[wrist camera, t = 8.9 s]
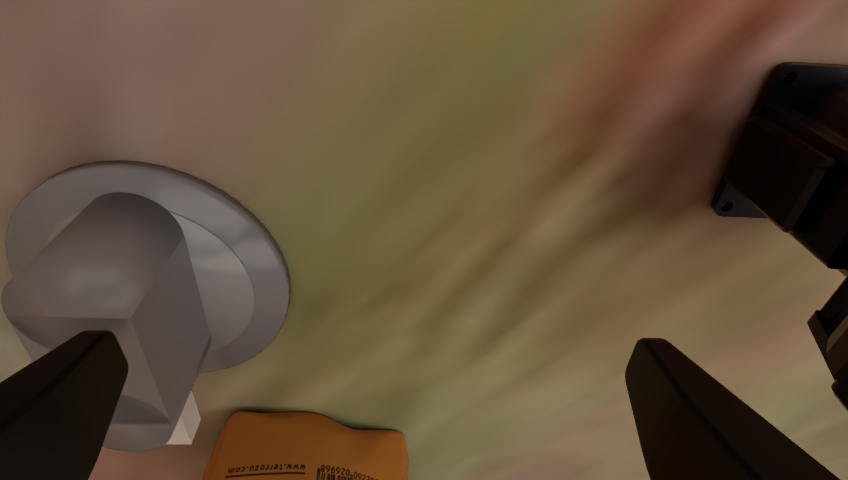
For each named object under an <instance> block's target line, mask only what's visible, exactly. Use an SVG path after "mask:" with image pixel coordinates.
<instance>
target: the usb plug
mask: <svg viewBox="0 0 848 480" xmlns="http://www.w3.org/2000/svg"><path fill="white" fill-rule="evenodd" d="M1 300H2V306H3V309H4V312H5V314H6V316H7V318H8V319H9V321H10V323H11V324H12V326H13V328H14V329H15V331H16V333H17V335H18V336H19V338H20V340H21V341H22V343H23V345H24V347H25V348H26V350H27V352H28V353H29V355H30V357H31V358H32V360H33V362H34V361H35V360H37V359H39V358H40V357H42V356H43V355H45V354H47V353H48V352H50V351H51V350H53V349H54V348H56V347H58V346H59V345H61V344H62V343H64V342H66V341H67V340H69V339H70V338H72V337H73V336H75V335H77V334H78V333H80V332H82V331H85V330H109V331H111V332H113V333H114V334H115V336H116V338H117V340H118V342H119V344H120V346H121V348H122V350H123V353H124V355H125V357H126V359H127V361H128V375H127V379H126V382H125V384H124V387H123V390H122V393H121V395H120V398H119V401H118V404H117V407H116V409H115V412H114V415H113V418H112V421H111V423H110V426H109V429H108V432H107V434H106V437H105V440H104V443H103V447H106V448H110V449H114V450H119V451H127V452H142V451H149V450H153V449H157V448H159V447H161V446H163V445H164V444H192V442H193V439H194V437H195V434H196V431H197V429H198V426H199V424H200V421H201V418H200V414H199V411H198V408H197V405H196V402H195V399H194V396H193V393H192V387H193V385H194V383H195V381H196V378H197V376H198V374H199V371H200V369H201V367H202V364H203V362H204V360H205V357H206V355H207V353H208V350H209V348H210V346H211V334H210V330H209V327H208V323H207V319H206V315H205V312H204V308H203V304H202V300H201V296H200V293H199V289H198V285H197V281H196V278H195V274H194V270H193V266H192V263H191V259H190V255H189V251H188V247H187V244H186V240H185V236H184V233H183V230H182V228H181V226H180V224H179V223H178V222H177V220H176V219H175V218H174V217H173V215H172V214H171V213H170V212H169V211H168V210H166V209H165V208H164V207H162V206H161V205H159V204H158V203H156V202H154V201H152V200H150V199H148V198H146V197H143V196H140V195H137V194H132V193H125V192H114V193H107V194H104V195H101V196H99V197H97V198H95V199H94V200H93V201H92V202H91V203H90V204H88V205H87V206H86V207H85V208H84V209H83V210H82V211H81V212H80V213H79V214H78V215H77V216H76V217H75V218H74V219H73V220H72V221H71V222H70V223H69V224H68V225H67V226H66V227H65V228H64V229H63V230H62V231H61V232H60V233H59V234H58V235H57V236H56V237H55V238H54V239H53V240H52V241H51V242H50V243H49V244H48V245H46V246H45V247H44V248H43V249H42V250H41V251H40V252H39V253H38V254H37V255H36V256H35V257H34V258H33V259H32V260H31V261H30V262H29V263H28V264H27V265H26V266H25V267H24V268H23V269H22V270H21V271H20V272H19V273H18V274H17V275H16V276H15V277H14V278H13V279H12V280H11V281H10V282H9V283H8V284H7V285H6V286H5V288H4V290H3V292H2V298H1Z"/></svg>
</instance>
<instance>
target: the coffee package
mask: <svg viewBox="0 0 848 480" xmlns="http://www.w3.org/2000/svg"><path fill="white" fill-rule="evenodd" d="M407 471H408V455H407V449H406V445H405V440H404V436H403V434H402V433H400V432H398V431H393V430H357V429H352V428H349V427H346V426H344V425H342V424H340V423H338V422H336V421H334V420H332V419H330V418H328V417H326V416H323V415H320V414H316V413H310V412H282V413H255V412H246V411H239V412H236V413H234V414H233V415H231V416H230V418H229V419H228V420H227V422H226V424H225V426H224V428H223V430H222V432H221V434H220V437H219V439H218V441H217V443H216V445H215V447H214V450H213V452H212V455H211V458H210V461H209V463H208V465H207V468H206V470H205V473H204V476H203V479H202V480H408V476H407Z"/></svg>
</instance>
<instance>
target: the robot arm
mask: <svg viewBox="0 0 848 480" xmlns="http://www.w3.org/2000/svg"><path fill="white" fill-rule="evenodd" d="M789 72H790V75H789V77H788V78H787V79H786V80H785V81H783V82H782V80H783V78H784V76H785V75H786V74H788V73H789ZM726 202H728V203H727V204H726V205H725V206H723V207H721V206H722V205H723V204H724V203H726ZM710 206H711V209H712V210H713V211H714V212H715V213H716V214H717V215H719V216H723V217H751V218H768V219H770V220H771V221H772V222H773V223H774V224H775V225H776V226H777V227H779V228H780V229H781V230H782V231H784V232H786V233H789V234H790V235H791V236H793V237H794V238H795V239H796V240H797V241H798V242H799V243H801V244H802V245H803V246H804V247H805V248H806V249H807V250H809V251H810V252H811V253H812V254H813V255H814V256H815V257H817V258H818V259H819V260H820V261H821V262H822V263H823V264H824V265H826V266H827V267H828V268H831V269H837V270H839V271H840V272H841V273H842V274H843V275H844V276H846V278H845V279H844V281H843V282H842V283H841V285H840V286H839V287H838V288H837V290H836V291H835V292H834V293H833V295H832V296H831V297H830V299H829V300H828V301H827V302H826V304H825V305H824V306H823V307H822V309H821V310H816V311H815V313H814V314H813V315H812V316H811V318H810V319H809V320H808V322H807V324H808V326H809V328H810V330H811V332H812V334H813V336H814V338H815V341H816V343H817V345H818V347H819V349H820V351H821V353H822V355H823V357H824V359H825V361H826V363H827V365H828V368H829V370H830V372H831V374H832V376H833V378H834V380H835V382H834V383H833V384H832V386H831V388H832V390H833V392H834V394H835V396H836V397H837V399H838V400H839V401H840V402H841V404H842V405H843V406H844V407H845V409H846V410H847V411H848V65H838V64H820V63H802V62H784V63H782V64H780V65H778V66H777V67H776V68H775V69H774V70H773V71H772V73H771V74H770V76H769V78H768V80H767V82H766V85H765V87H764V89H763V91H762V93H761V95H760V98H759V100H758V102H757V104H756V106H755V108H754V111H753V113H752V115H751V117H750V119H749V121H748V123H747V125H746V127H745V129H744V131H743V134H742V136H741V138H740V140H739V142H738V144H737V147H736V149H735V151H734V153H733V155H732V157H731V160H730V162H729V164H728V166H727V168H726V170H725V173H724V175H723V177H722V180H721V182H720V184H719V186H718V188H717V190H716V193H715V195H714V197H713V199H712V201H711V205H710ZM127 375H128V361H127V359H126V357H125V355H124V353H123V350H122V348H121V346H120V344H119V342H118V340H117V338H116V336H115V334H114V333H113V332H111V331H109V330H85V331H82V332H80V333H78V334H77V335H75V336H73V337H72V338H70V339H69V340H67V341H66V342H64V343H62V344H61V345H59V346H58V347H56V348H54V349H53V350H51V351H50V352H48V353H47V354H45V355H43V356H42V357H40V358H39V359H37V360H35V361H34V362H32V363H31V364H29V365H27V366H26V367H24V368H23V369H21V370H20V371H18V372H16V373H15V374H13V375H12V376H10V377H8V378H7V379H5V380H4V381H2V382H1V383H0V480H88V478H89V476H90V474H91V472H92V470H93V468H94V465H95V463H96V461H97V458H98V456H99V453H100V451H101V448H102V446H103V443H104V440H105V437H106V434H107V432H108V429H109V426H110V423H111V421H112V418H113V415H114V412H115V409H116V407H117V404H118V401H119V398H120V395H121V393H122V390H123V387H124V384H125V382H126V379H127ZM625 380H626V385H627V390H628V394H629V398H630V402H631V406H632V411H633V415H634V419H635V423H636V427H637V431H638V436H639V440H640V444H641V448H642V452H643V456H644V460H645V464H646V467H647V470H648V473H649V476H650V479H651V480H840V479H839V478H837V477H836V476H835V475H834V474H832V473H831V472H830V471H829V470H827V469H826V468H825V467H824V466H822V465H821V464H820V463H819V462H817V461H816V460H815V459H814V458H812V457H811V456H810V455H809V454H808V453H806V452H805V451H804V450H803V449H801V448H800V447H799V446H798V445H796V444H795V443H794V442H793V441H791V440H790V439H789V438H788V437H786V436H785V435H784V434H783V433H781V432H780V431H779V430H778V429H776V428H775V427H774V426H773V425H771V424H770V423H769V422H768V421H766V420H765V419H764V418H763V417H761V416H760V415H759V414H758V413H757V412H755V411H754V410H753V409H752V408H750V407H749V406H748V405H747V404H745V403H744V402H743V401H742V400H740V399H739V398H738V397H737V396H735V395H734V394H733V393H732V392H730V391H729V390H728V389H727V388H725V387H724V386H723V385H722V384H720V383H719V382H718V381H717V380H715V379H714V378H713V377H712V376H710V375H709V374H708V373H707V372H706V371H704V370H703V369H702V368H701V367H699V366H698V365H697V364H696V363H694V362H693V361H692V360H691V359H689V358H688V357H687V356H686V355H684V354H683V353H682V352H681V351H679V350H678V349H677V348H676V347H674V346H673V345H672V344H671V343H669V342H668V341H667V340H665V339H661V338H641V339H640V340H638V341H637V343H636V345H635V348H634V350H633V353H632V355H631V358H630V360H629V362H628V365H627V368H626V372H625Z"/></svg>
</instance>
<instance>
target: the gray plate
mask: <svg viewBox="0 0 848 480" xmlns="http://www.w3.org/2000/svg"><path fill="white" fill-rule="evenodd" d="M114 192H125V193H132V194H137V195H140V196H143V197H146V198H148V199H150V200H152V201H154V202H156V203H158V204H159V205H161V206H162V207H164V208H165V209H166V210H168V211H169V212H170V213H171V214H172V215H173V217H174V218H175V219H176V220H177V222H178V223H179V224H180V226H181V228H182V230H183V233H184V236H185V240H186V244H187V247H188V251H189V255H190V259H191V263H192V266H193V270H194V274H195V278H196V281H197V285H198V289H199V293H200V296H201V300H202V304H203V308H204V312H205V315H206V319H207V323H208V327H209V330H210V334H211V346H210V348H209V350H208V353H207V355H206V357H205V360H204V362H203V364H202V367H201V369H200V371H199V373H203V372H212V371H217V370H221V369H226V368H229V367H232V366H235V365H238V364H240V363H242V362H244V361H247V360H249V359H251V358H252V357H254V356H255V355H257V354H258V353H260V352H261V351H262V350H263V349H265V348H266V347H267V346H268V345H269V344H270V343H271V342H272V340H273V339H274V338H275V337H276V335H277V334H278V332H279V330H280V328H281V326H282V324H283V321H284V318H285V315H286V312H287V308H288V305H289V299H290V277H289V272H288V268H287V265H286V262H285V259H284V257H283V254H282V252H281V250H280V248H279V247H278V245H277V243H276V241H275V240H274V238H273V237H272V236H271V234H270V233H269V232H268V230H267V229H266V227H265V226H264V225H263V224H262V223H261V222H260V221H259V220H258V219H257V218H256V217H255V216H254V215H253V214H252V213H251V212H250V211H249V210H248V209H246V208H245V207H244V206H243V205H242V204H241V203H239V202H238V201H237V200H235V199H234V198H232V197H231V196H229V195H228V194H226V193H225V192H223V191H222V190H220V189H218V188H216V187H214V186H213V185H211V184H209V183H207V182H205V181H203V180H201V179H198V178H196V177H194V176H191V175H189V174H187V173H184V172H181V171H177V170H174V169H171V168H168V167H164V166H159V165H154V164H150V163H145V162H134V161H100V162H93V163H86V164H82V165H79V166H75V167H72V168H68V169H66V170H64V171H62V172H60V173H58V174H56V175H54V176H52V177H51V178H49V179H48V180H46V181H45V182H44V183H42V184H41V185H39V186H38V187H37V188H36V189H34V190H33V191H32V192H31V193H29V194H28V195H27V196H26V197H25V198H24V199H23V201H22V202H21V203H20V204H19V205H18V206H17V208H16V210H15V211H14V213H13V215H12V216H11V219H10V222H9V225H8V228H7V234H6V253H7V259H8V263H9V266H10V270H11V272H12V274H13V277H15V276H16V275H17V274H18V273H19V272H20V271H21V270H22V269H23V268H24V267H25V266H26V265H27V264H28V263H29V262H30V261H31V260H32V259H33V258H34V257H35V256H36V255H37V254H38V253H39V252H40V251H41V250H42V249H43V248H44V247H45V246H46V245H48V244H49V243H50V242H51V241H52V240H53V239H54V238H55V237H56V236H57V235H58V234H59V233H60V232H61V231H62V230H63V229H64V228H65V227H66V226H67V225H68V224H69V223H70V222H71V221H72V220H73V219H74V218H75V217H76V216H77V215H78V214H79V213H80V212H81V211H82V210H83V209H84V208H85V207H86V206H87V205H88V204H90V203H91V202H92V201H93V200H94V199H95V198H97V197H99V196H101V195H104V194H107V193H114Z"/></svg>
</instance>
